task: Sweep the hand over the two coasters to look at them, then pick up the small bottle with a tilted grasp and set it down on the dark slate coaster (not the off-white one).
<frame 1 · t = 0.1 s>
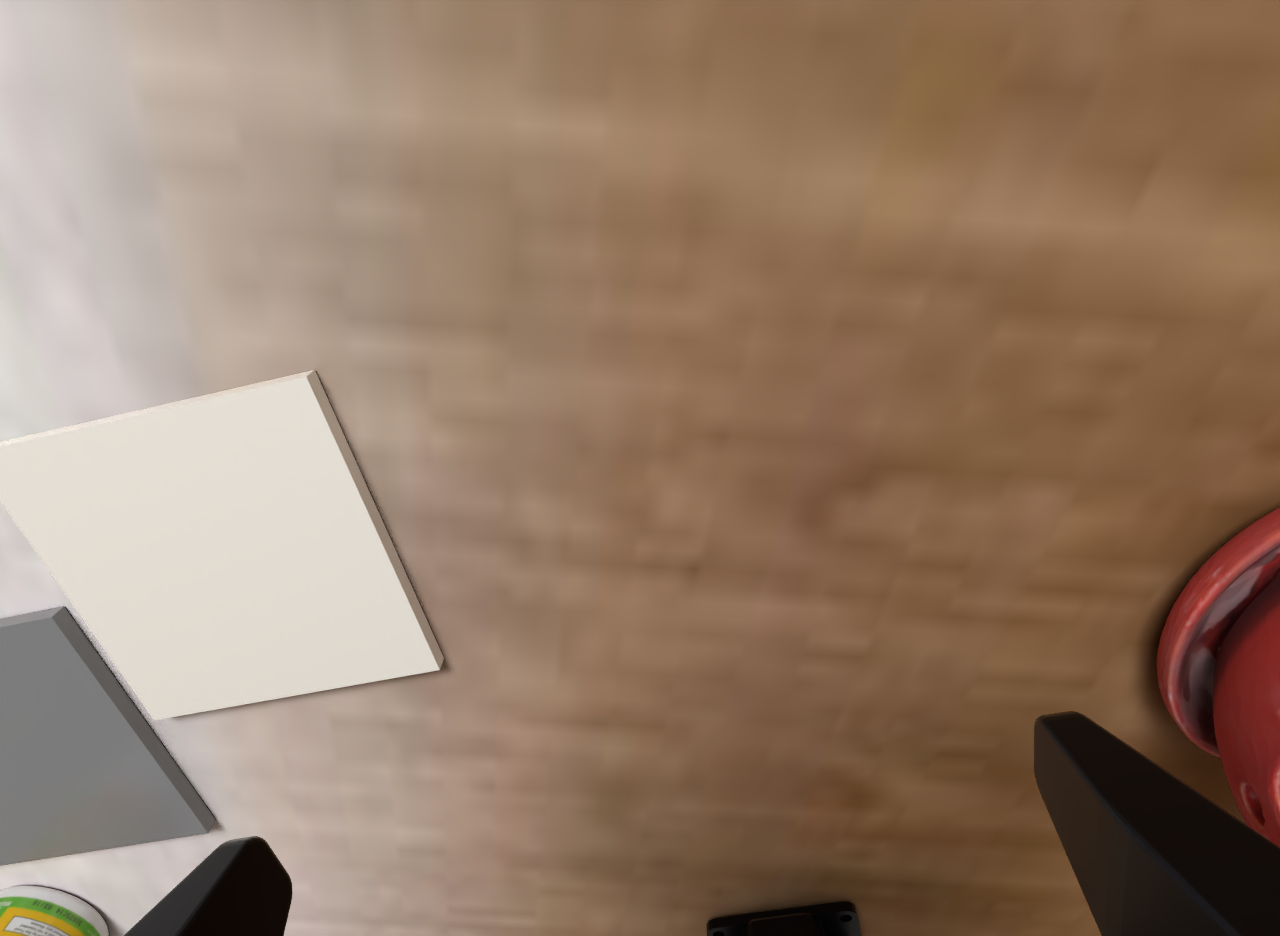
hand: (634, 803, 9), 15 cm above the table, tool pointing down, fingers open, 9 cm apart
slate coaster: (17, 745, 29), on the table
offwhite coaster: (230, 559, 25), on the table
supplement bottle: (54, 915, 34), on the table
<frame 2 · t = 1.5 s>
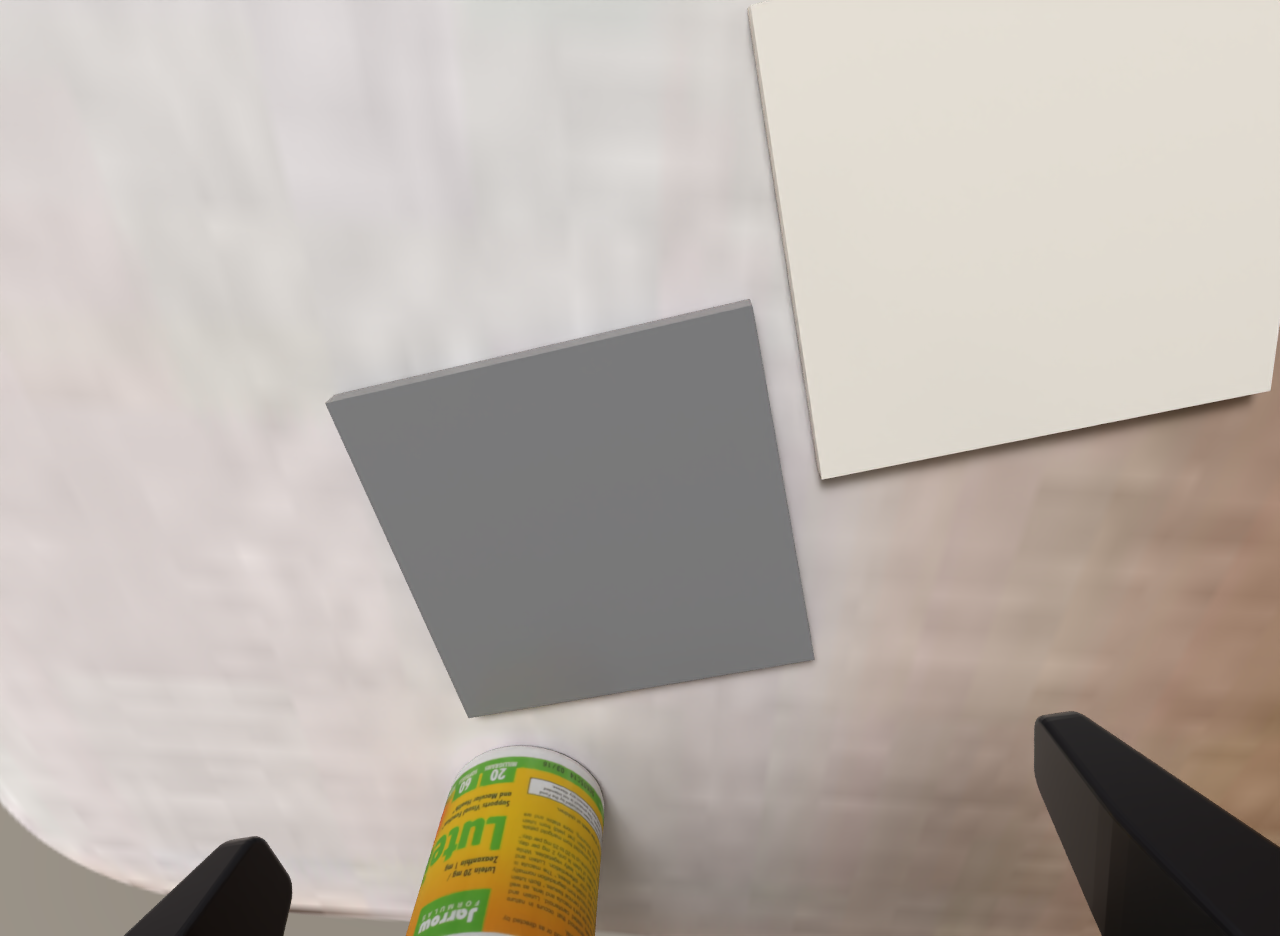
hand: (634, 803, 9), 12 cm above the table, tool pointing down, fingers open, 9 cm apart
slate coaster: (591, 530, 21), on the table
offwhite coaster: (1024, 213, 17), on the table
supplement bottle: (529, 791, 26), on the table
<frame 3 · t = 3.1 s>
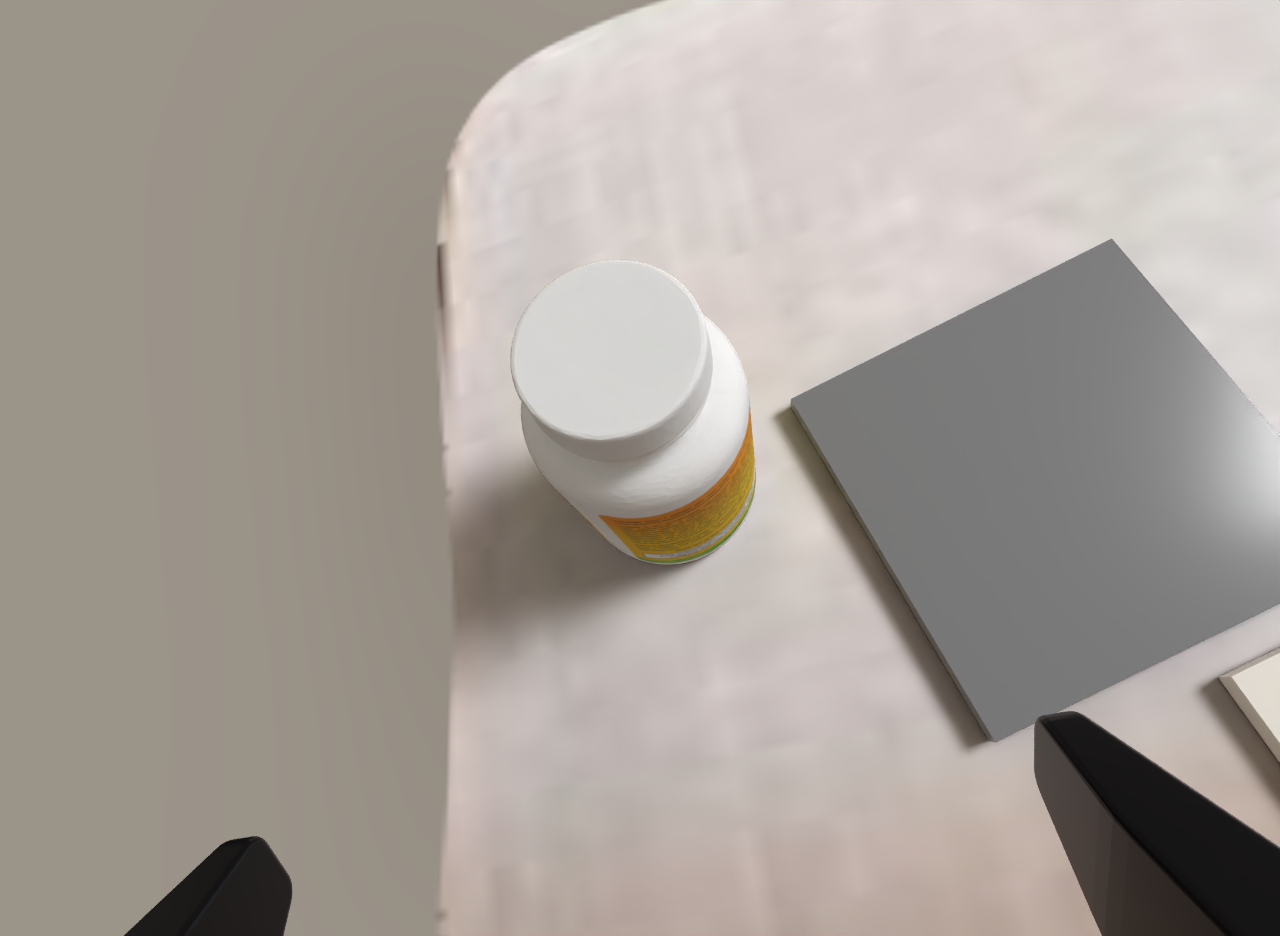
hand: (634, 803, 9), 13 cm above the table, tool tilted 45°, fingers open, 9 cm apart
slate coaster: (1051, 475, 22), on the table
supplement bottle: (671, 485, 24), on the table
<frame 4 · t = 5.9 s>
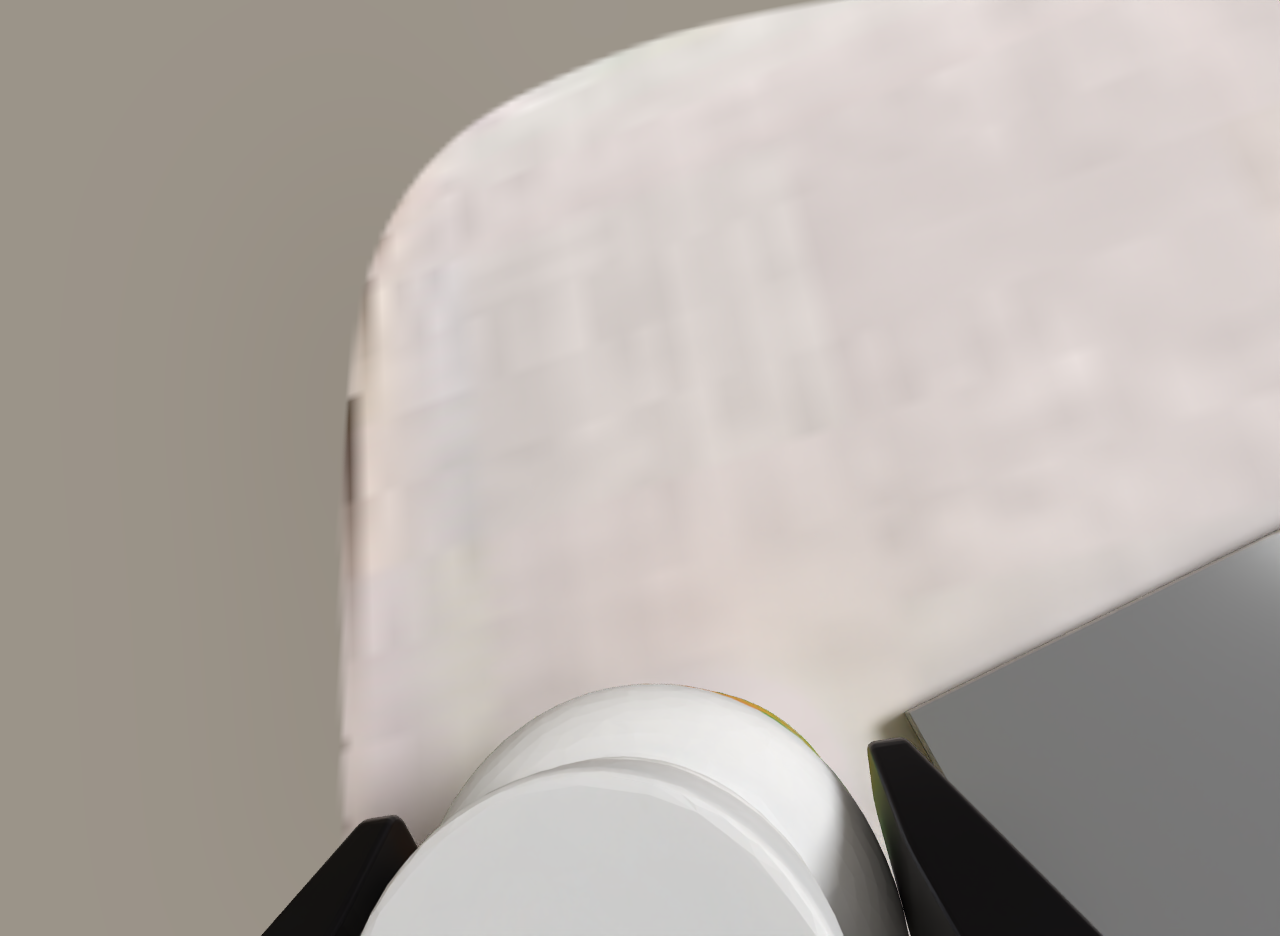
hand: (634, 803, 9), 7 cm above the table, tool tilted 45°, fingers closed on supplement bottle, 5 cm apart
supplement bottle: (706, 837, 14), on the table, touching gripper
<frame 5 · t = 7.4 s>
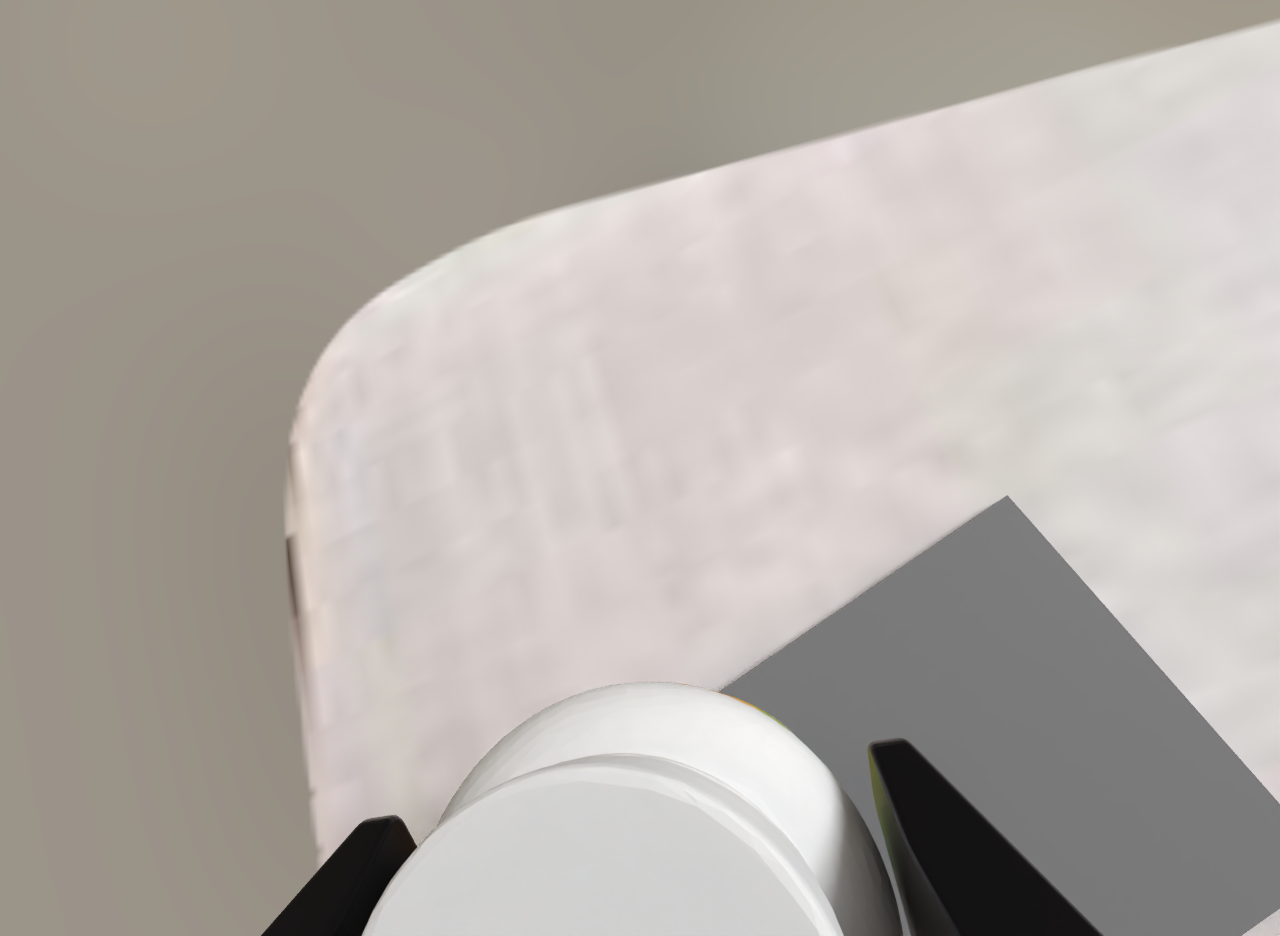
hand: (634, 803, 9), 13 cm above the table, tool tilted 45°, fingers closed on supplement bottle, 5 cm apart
slate coaster: (975, 782, 20), on the table
supplement bottle: (699, 835, 15), point 6 cm above the table, touching gripper
when the fingers open (8 cm above the table, at t = 9.3 s): supplement bottle stays where it is, resting on slate coaster.
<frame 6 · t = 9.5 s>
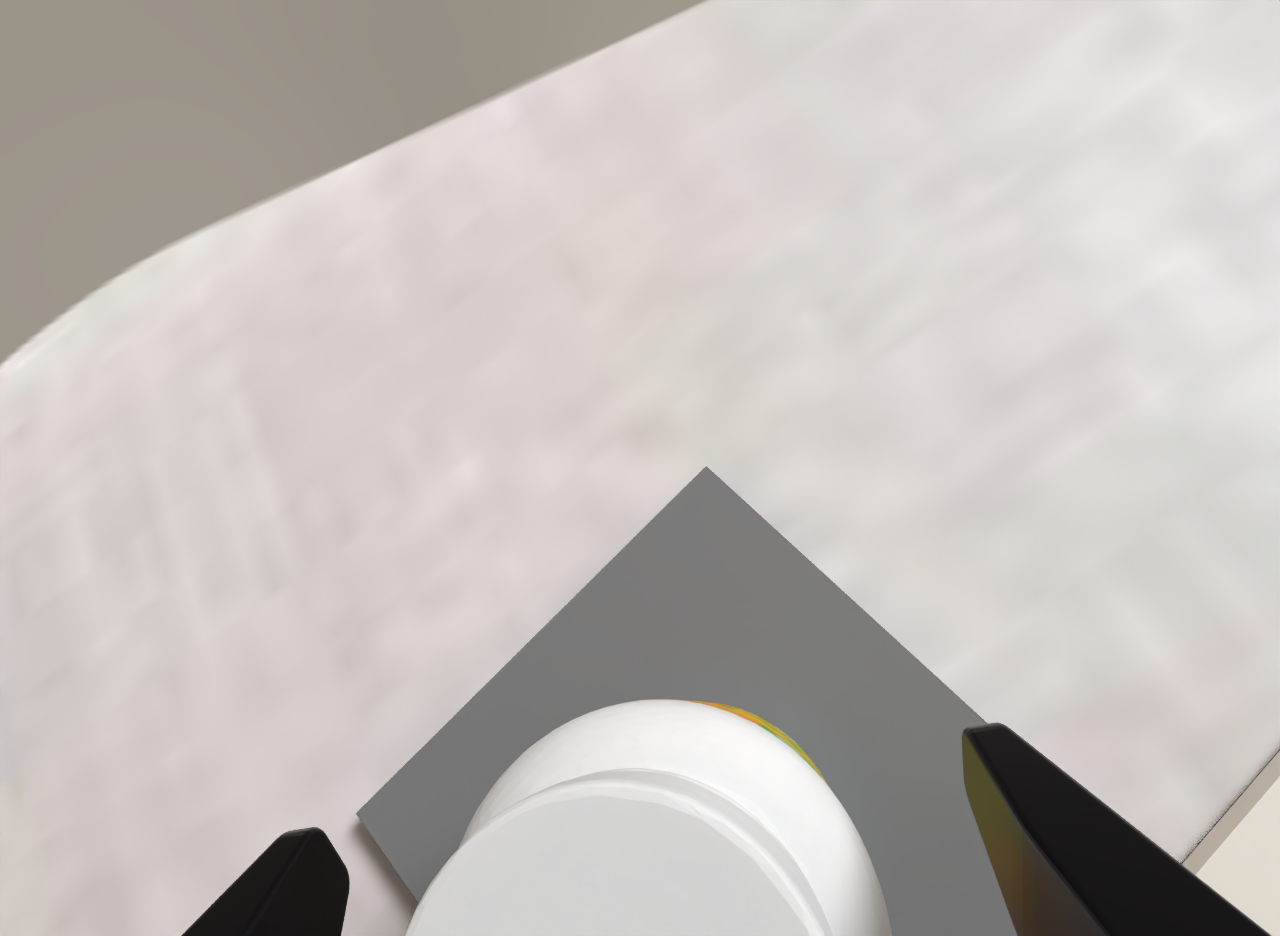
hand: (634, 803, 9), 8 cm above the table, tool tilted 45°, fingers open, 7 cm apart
slate coaster: (711, 826, 16), on the table
supplement bottle: (707, 839, 15), resting on slate coaster
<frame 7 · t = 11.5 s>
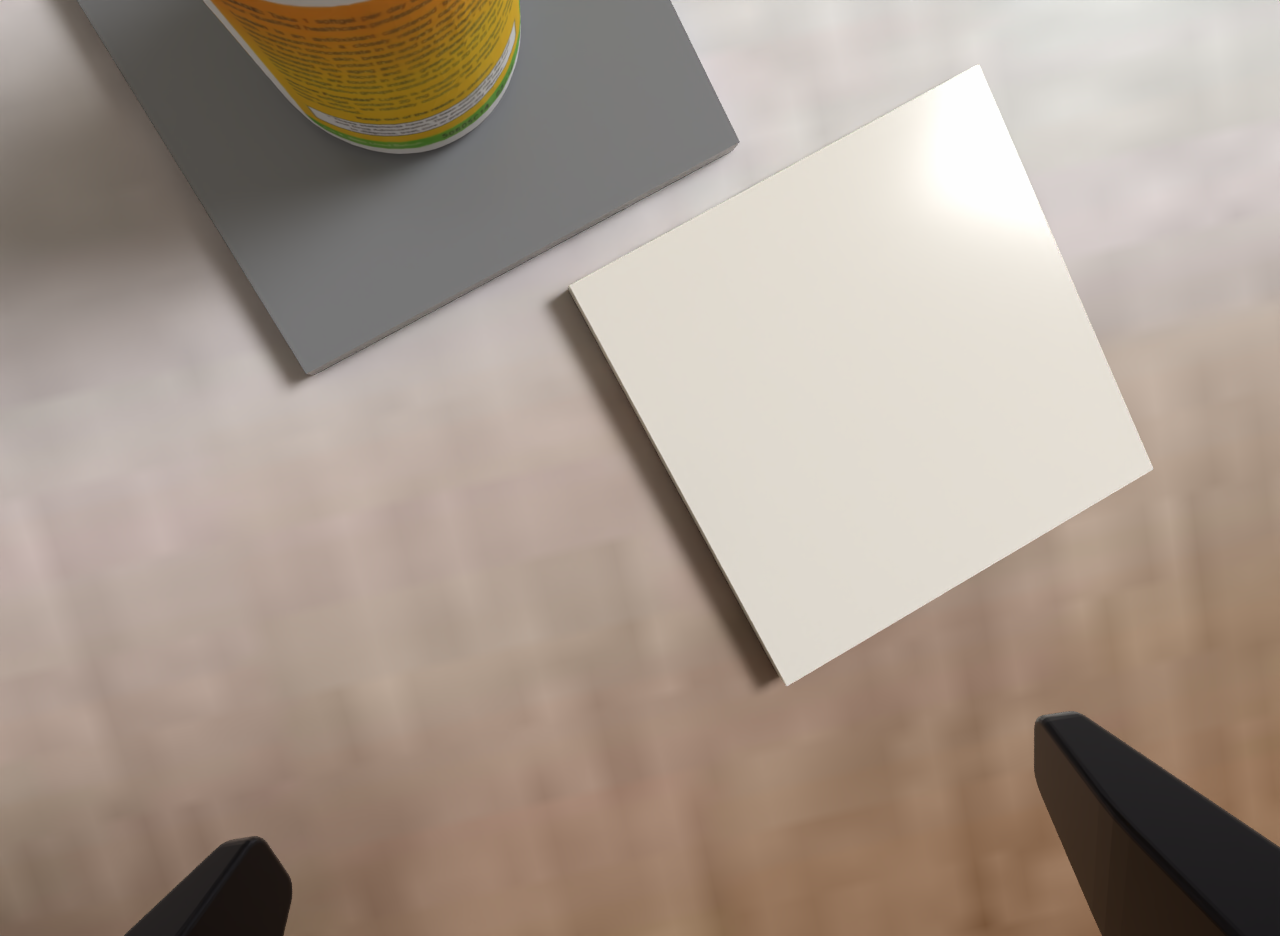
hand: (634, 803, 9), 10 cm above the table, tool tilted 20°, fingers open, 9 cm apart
slate coaster: (403, 33, 16), on the table
offwhite coaster: (869, 383, 19), on the table
supplement bottle: (395, 33, 16), resting on slate coaster
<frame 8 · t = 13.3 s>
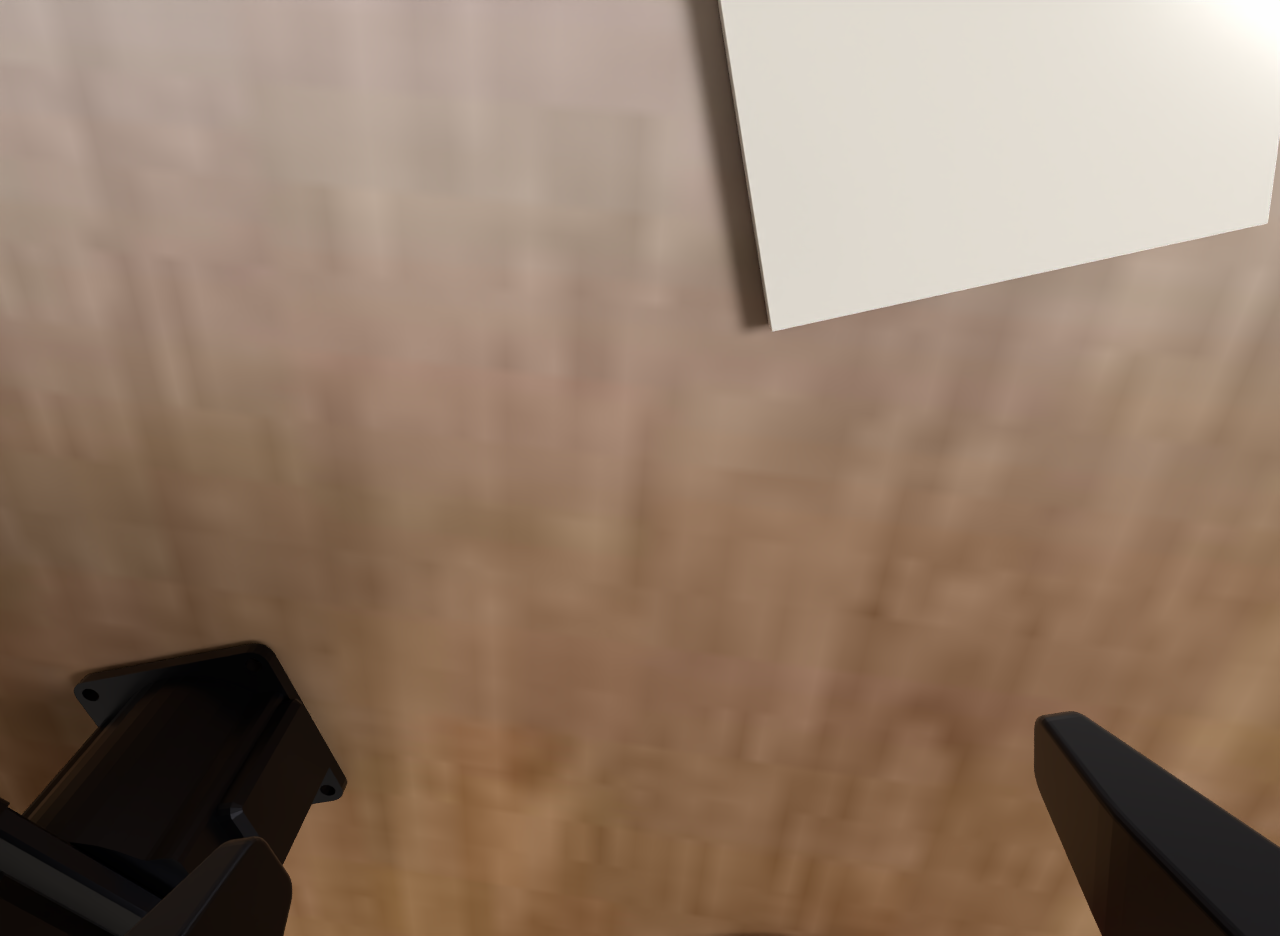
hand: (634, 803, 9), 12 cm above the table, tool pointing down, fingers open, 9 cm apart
offwhite coaster: (995, 8, 15), on the table
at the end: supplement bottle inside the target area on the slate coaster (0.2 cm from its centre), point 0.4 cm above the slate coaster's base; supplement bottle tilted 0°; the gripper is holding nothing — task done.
